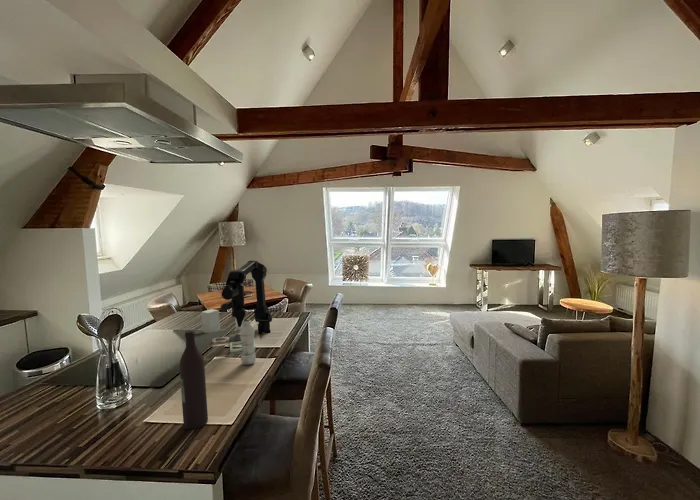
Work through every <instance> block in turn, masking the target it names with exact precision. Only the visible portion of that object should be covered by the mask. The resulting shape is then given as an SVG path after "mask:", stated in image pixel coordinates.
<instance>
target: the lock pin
mask: <svg viewBox="0 0 700 500" xmlns="http://www.w3.org/2000/svg"><path fill="white" fill-rule="evenodd" d="M234 319H235V321H234V322H235V331H237V332H240V330H241V328H242V327H243V325H241V327H238V323H237V320H236V318H235V317H234Z"/></svg>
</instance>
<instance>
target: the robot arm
mask: <svg viewBox="0 0 700 500" xmlns="http://www.w3.org/2000/svg"><path fill="white" fill-rule="evenodd" d="M267 272H268V270H267V267H266V266H265V265H264V264H262V263H260V262H259V261H258V260H248V261H247V262H246V263H245V264H243V265H242V266H241V267H240V268H237V269H233V270H230V271H229V273H228V275H227V278H226V282H225V285H224V288H223V289H222V291H221V296H222V297H221V298H223V299H224V300H226V301H227V302H224V303H222V304H220V308H221V311H222V313H225V312H227V311H228V310H230V309H231V310H232V311H231V317H233V318H234V319H235V318H236V320H237V323H238V327H241V325H242V321H243V320H245V319H244V318H245V316H246V304H245V289H244V288H245V287H244V286H245V285H246V284H245V280H246V279H247V275H248V274H251V278H252V279H253V280H254V283H255V284H254V285H255V293H256V296H255V297H256V308H255V309H254V311H253V313H254V314H253V315H254V320H255V323H257V332H258V334H266V333H271V325H270V324H271V322H273V316H272V313H270V312H271V311H270V308H269V307H268V305H267V304H266V293H265V291H266V290H265V279H266V278H267Z"/></svg>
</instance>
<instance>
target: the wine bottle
mask: <svg viewBox="0 0 700 500" xmlns="http://www.w3.org/2000/svg"><path fill="white" fill-rule="evenodd" d="M195 336H196V332H195V330H194V329H193V330H192V329H189V330H186V331H185V333H184V337H185V347H184V351H183V353H182V354H181V358H180V359H179V378H180V394H181V395H180V396H181V406H182V407H181V408H182V421H183V428H184V429H185V430H190V431H191V430H192V431H193V430H197V429H200V428H203V427H204V426H205V425H206V424H207V423H208V420H209V416H208V415H209V413H208V401H207V383H206V369H205V359H204V357H203V354H202V352H201V351H200V350H199V349H198V347H197V344H196V341H195V339H196V337H195Z"/></svg>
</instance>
